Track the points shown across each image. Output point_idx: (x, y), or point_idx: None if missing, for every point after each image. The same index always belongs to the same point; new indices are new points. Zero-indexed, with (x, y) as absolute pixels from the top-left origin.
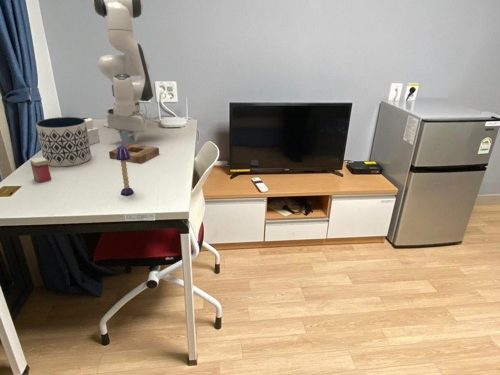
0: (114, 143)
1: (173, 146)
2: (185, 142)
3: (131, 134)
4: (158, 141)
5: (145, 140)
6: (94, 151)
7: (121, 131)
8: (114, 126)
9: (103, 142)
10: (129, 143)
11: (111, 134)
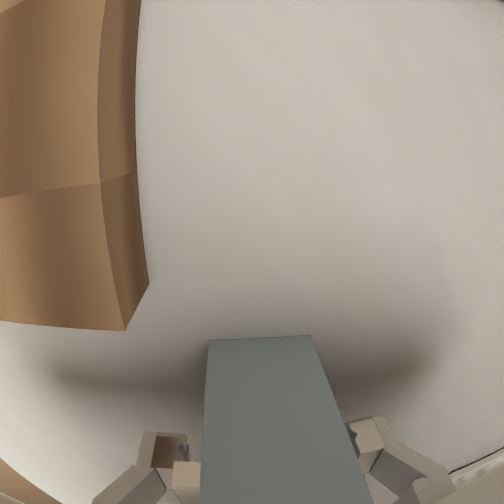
0: (426, 349)
1: (4, 429)
2: (34, 476)
3: (182, 496)
4: None
5: None
6: (458, 52)
7: (364, 500)
8: (502, 496)
9: (500, 315)
10: (110, 319)
11: (479, 428)
